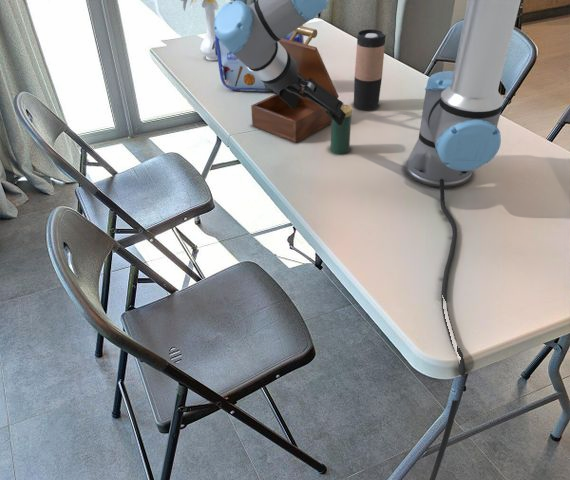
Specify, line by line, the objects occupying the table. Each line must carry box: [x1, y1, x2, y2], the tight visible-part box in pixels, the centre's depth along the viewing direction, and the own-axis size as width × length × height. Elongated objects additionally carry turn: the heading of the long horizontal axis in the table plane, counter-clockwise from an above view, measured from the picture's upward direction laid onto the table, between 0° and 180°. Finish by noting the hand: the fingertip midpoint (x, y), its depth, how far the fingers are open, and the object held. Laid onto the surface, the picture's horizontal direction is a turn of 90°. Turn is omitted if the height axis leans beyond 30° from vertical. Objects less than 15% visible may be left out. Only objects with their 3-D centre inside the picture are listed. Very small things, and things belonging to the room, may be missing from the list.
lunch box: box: [212, 24, 305, 92], centre depth 163 cm, size 28×10×22 cm, turn 84°
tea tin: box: [329, 103, 353, 155], centre depth 135 cm, size 5×5×11 cm
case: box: [250, 88, 332, 144], centre depth 149 cm, size 18×16×6 cm
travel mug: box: [353, 28, 386, 112], centre depth 152 cm, size 8×8×20 cm
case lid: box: [278, 25, 340, 99], centre depth 144 cm, size 19×16×7 cm
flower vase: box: [180, 0, 234, 62], centre depth 182 cm, size 13×18×25 cm
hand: (318, 111), depth 125 cm, fingers open, 13 cm apart
